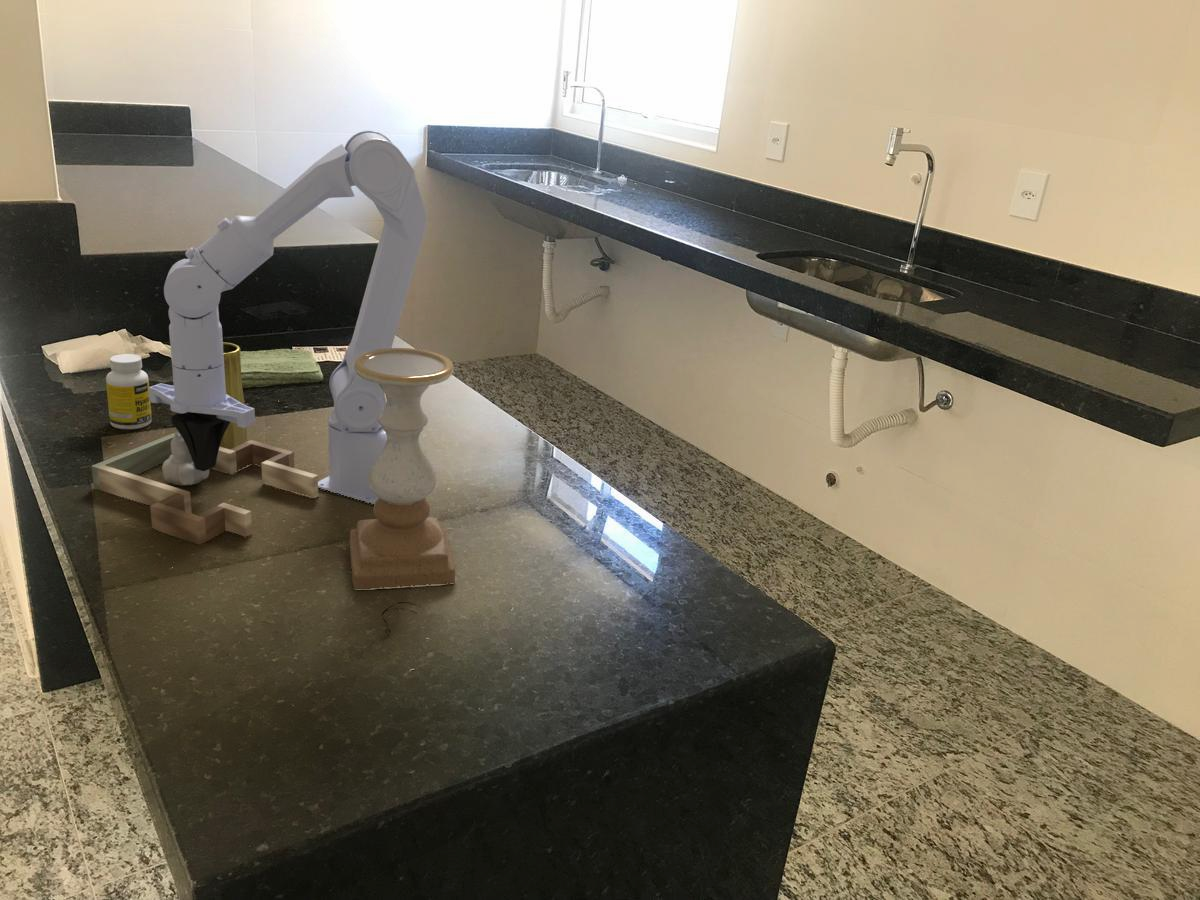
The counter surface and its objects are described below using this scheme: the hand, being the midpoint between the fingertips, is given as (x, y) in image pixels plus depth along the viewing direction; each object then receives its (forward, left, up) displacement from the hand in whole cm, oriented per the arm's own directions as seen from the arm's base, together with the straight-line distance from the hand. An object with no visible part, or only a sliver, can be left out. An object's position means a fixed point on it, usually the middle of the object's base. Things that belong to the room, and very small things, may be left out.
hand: (205, 467), depth 120 cm
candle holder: (-30, +2, -4) cm, 30 cm away
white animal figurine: (+3, 0, -4) cm, 5 cm away
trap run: (0, 0, -3) cm, 3 cm away
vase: (+8, -12, -4) cm, 15 cm away
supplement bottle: (+24, -11, -4) cm, 27 cm away
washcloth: (+24, -39, -4) cm, 46 cm away
